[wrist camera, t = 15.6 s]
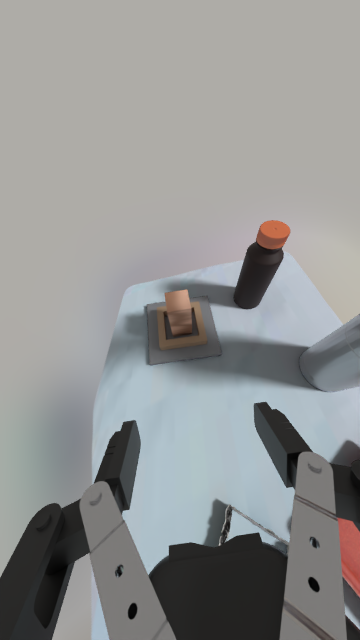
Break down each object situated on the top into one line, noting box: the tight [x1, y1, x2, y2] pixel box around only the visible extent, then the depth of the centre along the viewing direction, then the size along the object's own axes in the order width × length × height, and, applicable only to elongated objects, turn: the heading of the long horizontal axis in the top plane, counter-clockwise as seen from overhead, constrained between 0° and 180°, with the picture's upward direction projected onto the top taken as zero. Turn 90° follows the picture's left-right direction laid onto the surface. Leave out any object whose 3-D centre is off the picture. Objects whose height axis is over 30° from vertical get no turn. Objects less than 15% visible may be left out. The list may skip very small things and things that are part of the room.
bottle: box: [234, 220, 290, 309], centre depth 40 cm, size 7×7×20 cm
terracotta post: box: [165, 290, 192, 337], centre depth 40 cm, size 4×4×11 cm
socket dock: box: [147, 296, 222, 365], centre depth 45 cm, size 16×16×3 cm
